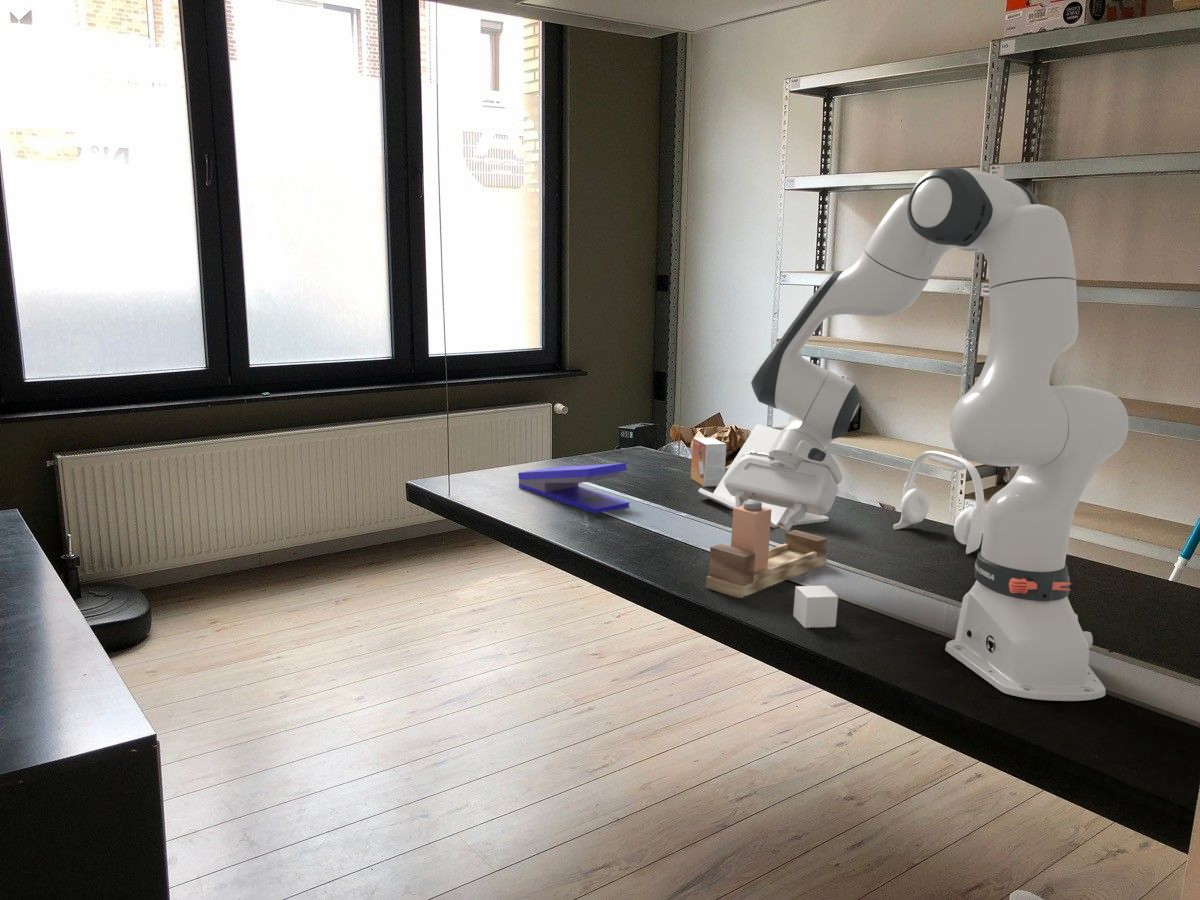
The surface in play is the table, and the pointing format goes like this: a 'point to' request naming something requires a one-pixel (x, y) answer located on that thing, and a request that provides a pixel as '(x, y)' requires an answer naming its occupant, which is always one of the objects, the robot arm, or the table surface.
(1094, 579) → the table surface
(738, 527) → the pink capped carton
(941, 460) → the headset
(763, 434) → the tablet stand
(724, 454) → the small box
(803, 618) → the white cube
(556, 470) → the stapler
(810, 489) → the robot arm
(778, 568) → the track
